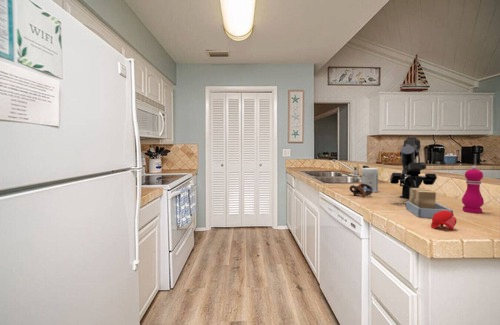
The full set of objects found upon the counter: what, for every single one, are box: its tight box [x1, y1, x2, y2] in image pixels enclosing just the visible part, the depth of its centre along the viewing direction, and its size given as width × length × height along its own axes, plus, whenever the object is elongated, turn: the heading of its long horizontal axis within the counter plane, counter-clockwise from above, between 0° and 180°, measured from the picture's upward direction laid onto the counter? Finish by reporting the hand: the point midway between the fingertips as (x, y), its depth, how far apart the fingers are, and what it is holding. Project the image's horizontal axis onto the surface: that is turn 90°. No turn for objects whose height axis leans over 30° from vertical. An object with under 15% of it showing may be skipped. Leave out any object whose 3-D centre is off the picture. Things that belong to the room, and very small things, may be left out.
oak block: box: [408, 187, 437, 209], centre depth 114 cm, size 12×6×9 cm, turn 165°
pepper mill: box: [461, 165, 485, 214], centre depth 111 cm, size 7×7×20 cm
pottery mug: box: [349, 182, 373, 198], centre depth 148 cm, size 12×10×8 cm
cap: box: [430, 210, 457, 231], centre depth 89 cm, size 8×6×6 cm
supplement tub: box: [361, 167, 379, 193], centre depth 163 cm, size 10×10×15 cm
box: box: [405, 200, 454, 219], centre depth 108 cm, size 16×12×4 cm
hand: (416, 192), depth 120 cm, fingers closed, pressing on oak block
